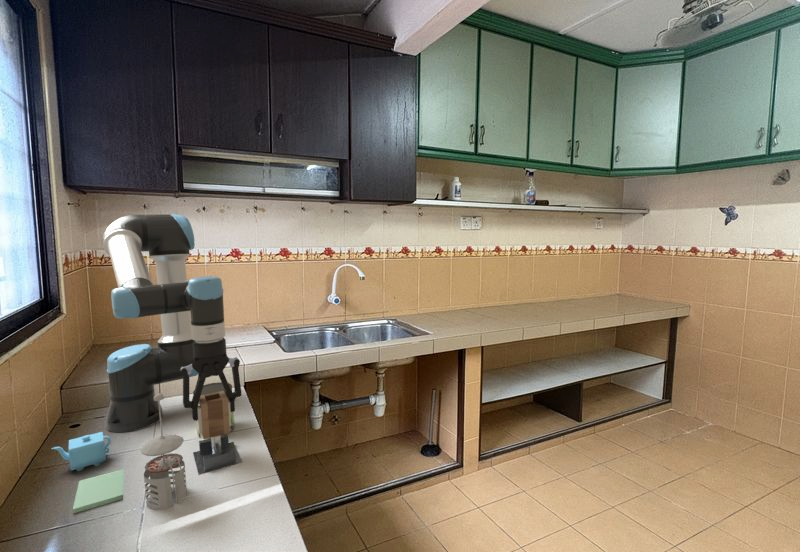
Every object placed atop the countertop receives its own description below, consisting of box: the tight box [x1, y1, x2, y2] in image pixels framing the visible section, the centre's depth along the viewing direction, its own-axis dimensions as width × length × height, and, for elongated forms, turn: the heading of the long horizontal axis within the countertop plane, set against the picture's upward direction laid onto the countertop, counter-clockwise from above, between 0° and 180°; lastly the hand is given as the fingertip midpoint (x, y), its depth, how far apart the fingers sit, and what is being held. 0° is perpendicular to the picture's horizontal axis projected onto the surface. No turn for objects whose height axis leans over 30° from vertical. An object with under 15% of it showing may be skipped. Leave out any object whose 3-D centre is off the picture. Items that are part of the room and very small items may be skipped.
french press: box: [139, 393, 188, 510], centre depth 89 cm, size 10×12×25 cm
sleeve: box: [199, 391, 231, 440], centre depth 106 cm, size 6×6×9 cm
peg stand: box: [192, 434, 243, 476], centre depth 106 cm, size 12×10×10 cm
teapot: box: [51, 431, 112, 472], centre depth 106 cm, size 12×6×8 cm, turn 128°
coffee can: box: [192, 381, 235, 440], centre depth 121 cm, size 10×10×14 cm
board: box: [72, 468, 126, 514], centre depth 96 cm, size 12×10×1 cm
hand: (214, 427), depth 106 cm, fingers closed on sleeve, 6 cm apart
